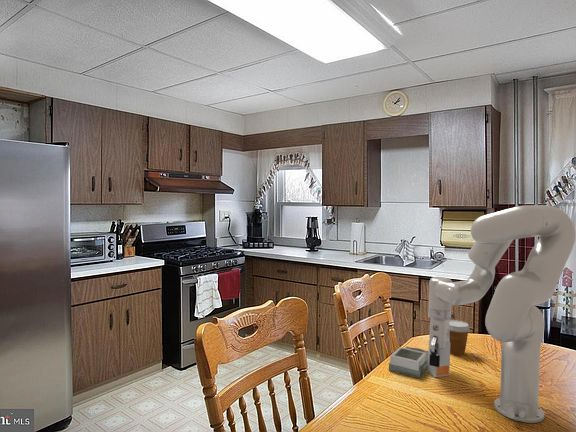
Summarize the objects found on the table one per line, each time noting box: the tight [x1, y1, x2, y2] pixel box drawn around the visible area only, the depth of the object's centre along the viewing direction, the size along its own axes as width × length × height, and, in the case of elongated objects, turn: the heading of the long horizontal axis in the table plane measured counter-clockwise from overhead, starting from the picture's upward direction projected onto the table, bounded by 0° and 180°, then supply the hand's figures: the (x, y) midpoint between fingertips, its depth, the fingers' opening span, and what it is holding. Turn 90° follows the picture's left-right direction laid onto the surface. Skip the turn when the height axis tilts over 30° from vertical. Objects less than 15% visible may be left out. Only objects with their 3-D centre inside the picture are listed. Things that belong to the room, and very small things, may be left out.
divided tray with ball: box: [388, 346, 429, 379], centre depth 146 cm, size 20×11×6 cm, turn 146°
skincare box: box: [427, 340, 451, 378], centre depth 138 cm, size 6×4×12 cm
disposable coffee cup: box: [449, 319, 470, 357], centre depth 157 cm, size 10×10×12 cm
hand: (437, 360), depth 138 cm, fingers open, 9 cm apart
